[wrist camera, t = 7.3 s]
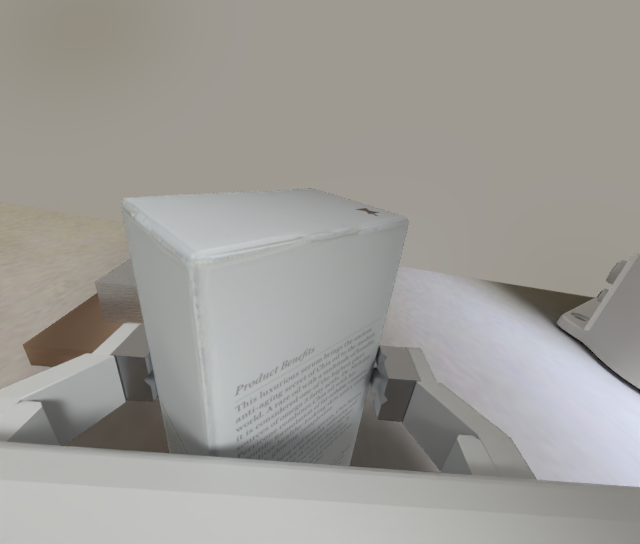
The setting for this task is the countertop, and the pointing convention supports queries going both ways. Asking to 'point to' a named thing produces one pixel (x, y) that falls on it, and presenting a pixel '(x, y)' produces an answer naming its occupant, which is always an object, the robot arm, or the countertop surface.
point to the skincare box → (263, 317)
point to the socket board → (89, 320)
